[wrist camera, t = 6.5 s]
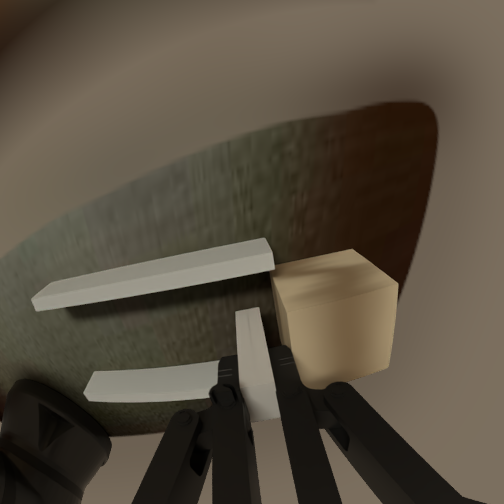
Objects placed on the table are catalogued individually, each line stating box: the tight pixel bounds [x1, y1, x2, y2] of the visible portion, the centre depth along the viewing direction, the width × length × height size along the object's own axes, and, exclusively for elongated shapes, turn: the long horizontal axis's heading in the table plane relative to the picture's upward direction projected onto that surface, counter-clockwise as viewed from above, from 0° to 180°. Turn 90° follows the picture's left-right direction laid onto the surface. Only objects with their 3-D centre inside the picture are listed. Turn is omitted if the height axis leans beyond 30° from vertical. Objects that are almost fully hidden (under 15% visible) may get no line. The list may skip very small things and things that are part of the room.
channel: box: [31, 238, 275, 402], centre depth 17 cm, size 17×10×3 cm, turn 100°
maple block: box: [269, 249, 398, 389], centre depth 16 cm, size 6×6×6 cm
